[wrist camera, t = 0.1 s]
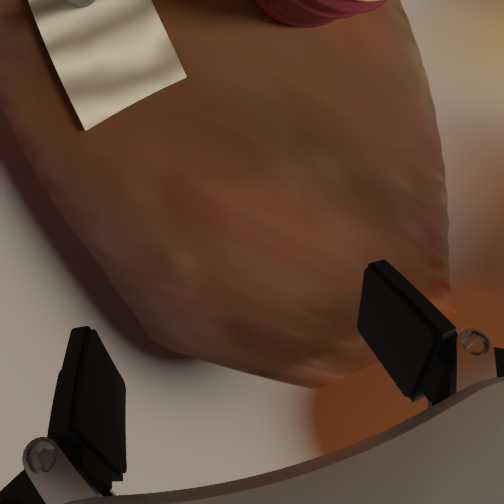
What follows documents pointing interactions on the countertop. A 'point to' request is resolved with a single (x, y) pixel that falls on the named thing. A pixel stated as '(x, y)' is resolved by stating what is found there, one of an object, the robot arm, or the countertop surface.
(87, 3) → the cylinder
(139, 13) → the cream rippled cloth
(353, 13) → the canister
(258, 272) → the countertop surface
